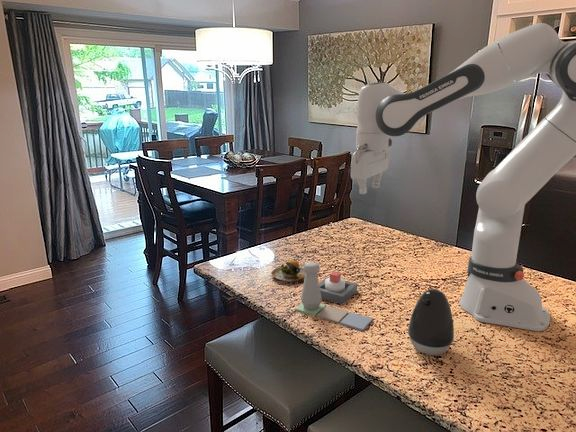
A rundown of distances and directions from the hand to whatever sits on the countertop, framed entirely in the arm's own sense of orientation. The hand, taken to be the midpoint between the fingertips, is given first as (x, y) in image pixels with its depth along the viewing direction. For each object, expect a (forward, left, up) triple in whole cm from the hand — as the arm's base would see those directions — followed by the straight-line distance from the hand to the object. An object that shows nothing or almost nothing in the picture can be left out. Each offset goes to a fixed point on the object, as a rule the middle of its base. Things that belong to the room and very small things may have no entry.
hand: (369, 190), depth 126 cm
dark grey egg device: (-26, +23, -31) cm, 47 cm away
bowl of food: (+24, +6, -31) cm, 40 cm away
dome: (+6, +9, -30) cm, 32 cm away
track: (+1, +21, -31) cm, 37 cm away
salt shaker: (+7, +21, -30) cm, 38 cm away
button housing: (+6, +9, -31) cm, 33 cm away
